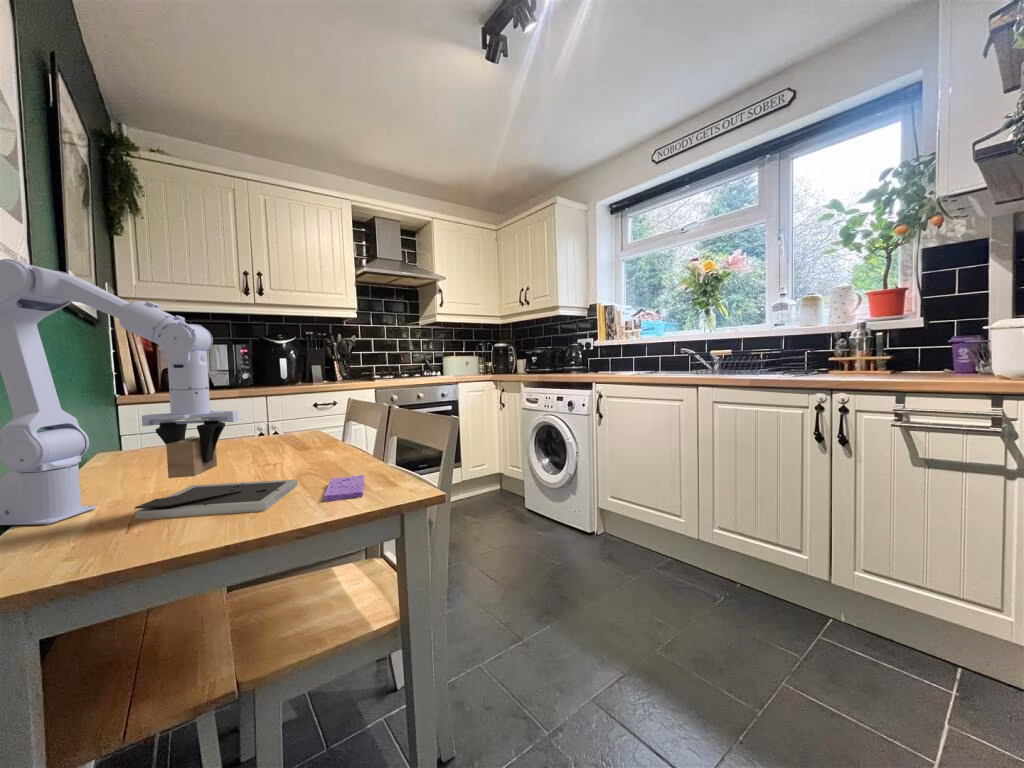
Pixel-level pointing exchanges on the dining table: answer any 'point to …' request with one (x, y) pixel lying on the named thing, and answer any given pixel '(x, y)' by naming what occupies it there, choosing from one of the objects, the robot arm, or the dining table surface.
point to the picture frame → (217, 499)
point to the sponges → (344, 488)
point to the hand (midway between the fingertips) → (193, 462)
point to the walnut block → (187, 458)
